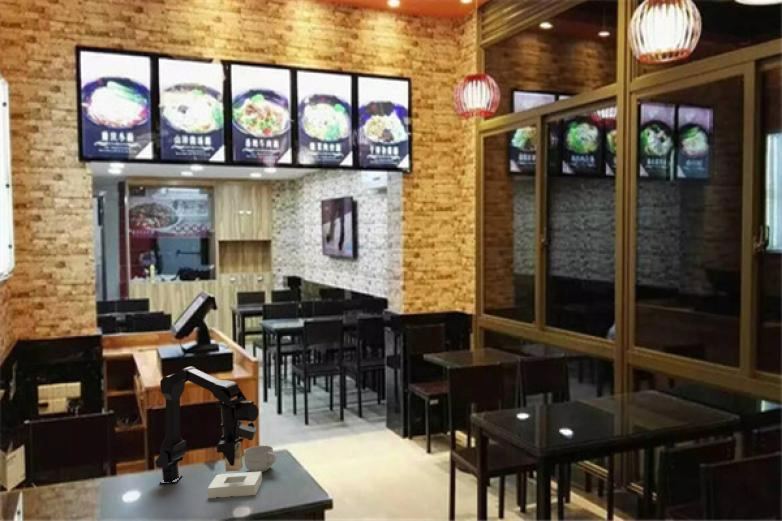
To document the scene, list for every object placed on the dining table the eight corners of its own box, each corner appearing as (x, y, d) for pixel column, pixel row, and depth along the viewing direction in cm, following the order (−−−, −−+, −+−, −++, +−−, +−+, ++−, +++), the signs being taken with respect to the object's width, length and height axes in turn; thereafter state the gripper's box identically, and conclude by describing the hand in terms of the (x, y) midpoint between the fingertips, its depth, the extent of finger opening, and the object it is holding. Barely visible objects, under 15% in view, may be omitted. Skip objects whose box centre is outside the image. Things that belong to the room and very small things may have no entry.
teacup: (239, 470, 236) (238, 450, 236) (264, 462, 243) (263, 442, 243) (259, 479, 226) (257, 458, 225) (284, 470, 233) (283, 449, 233)
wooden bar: (228, 467, 220) (226, 442, 219) (242, 466, 220) (240, 441, 219) (225, 471, 216) (223, 445, 216) (240, 470, 216) (238, 444, 216)
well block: (217, 484, 224) (216, 474, 224) (262, 480, 224) (261, 471, 224) (208, 498, 212) (207, 488, 212) (255, 494, 212) (254, 484, 212)
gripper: (247, 426, 208) (251, 472, 209) (258, 410, 227) (262, 452, 227) (214, 428, 208) (217, 474, 208) (228, 412, 226) (231, 454, 227)
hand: (233, 463), depth 218 cm, fingers closed on wooden bar, 3 cm apart
